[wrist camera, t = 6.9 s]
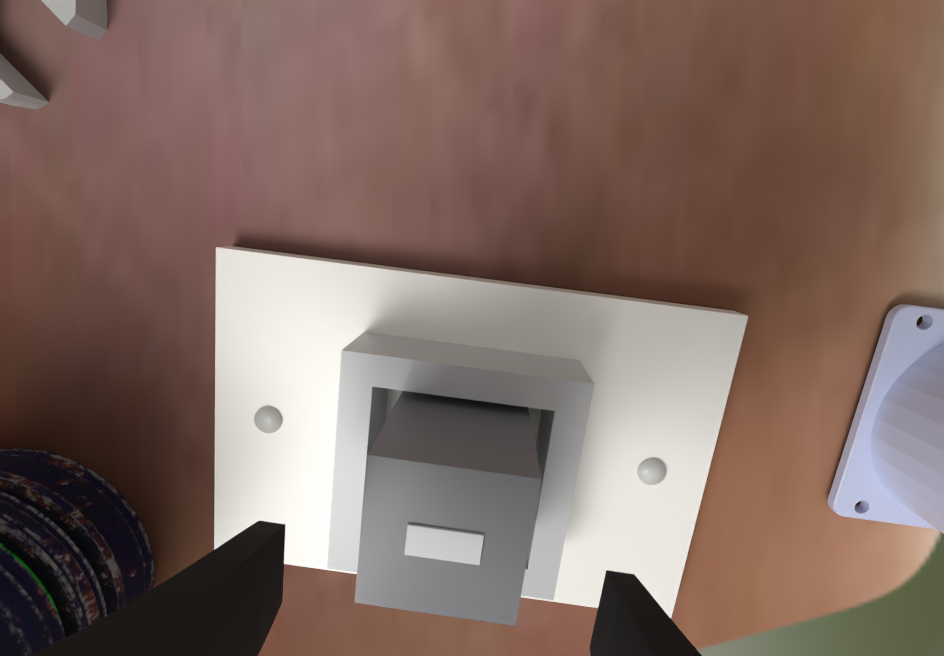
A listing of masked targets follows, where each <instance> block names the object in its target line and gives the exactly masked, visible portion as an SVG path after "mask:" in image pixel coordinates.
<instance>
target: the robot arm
mask: <svg viewBox="0 0 944 656" xmlns="http://www.w3.org/2000/svg"><path fill="white" fill-rule="evenodd" d="M921 316H922V317H923V318H922V322H921V324H920V325H919V326H917V325H916V324H917V320H918V318H919V317H921ZM859 501H861V503H860V504H859V505H858V506H857V507H855V505H856V503H858V502H859ZM828 505H829V507H830V508H831V509H832V510H833V511H834V512H836V513H837V514H838V515H840V516H843V517H851V518H858V519H865V520H873V521H880V522H887V523H895V524H902V525H910V526H917V527H924V528H932V529H938V530H939V531H941V532H942V533H944V309H940V308H932V307H924V306H916V305H909V304H900V305H897V306H895V307H893V308H892V309H891V310H890V311H889V313H888V314H887V316H886V319H885V322H884V325H883V329H882V332H881V335H880V338H879V341H878V344H877V347H876V350H875V353H874V357H873V360H872V363H871V366H870V369H869V372H868V375H867V378H866V382H865V385H864V388H863V391H862V394H861V397H860V400H859V403H858V407H857V410H856V413H855V416H854V419H853V422H852V425H851V428H850V431H849V435H848V438H847V441H846V444H845V447H844V450H843V453H842V456H841V460H840V463H839V466H838V469H837V472H836V475H835V478H834V481H833V485H832V488H831V491H830V494H829V497H828ZM285 525H286V524H279V523H272V522H265V521H258V522H256V523H254V524H253V525H251V526H249V527H248V528H246V529H245V530H243V531H242V532H240V533H239V534H237V535H236V536H234V537H233V538H231V539H230V540H228V541H227V542H225V543H224V544H222V545H221V546H219V547H218V548H216V549H215V550H213V551H212V552H210V553H209V554H207V555H206V556H204V557H203V558H201V559H199V560H198V561H196V562H195V563H193V564H192V565H190V566H189V567H187V568H186V569H184V570H182V571H181V572H179V573H178V574H176V575H175V576H173V577H172V578H170V579H168V580H167V581H165V582H163V583H162V584H160V585H158V586H157V587H155V588H153V589H152V590H150V591H148V592H146V593H145V594H143V595H141V596H140V597H138V598H136V599H135V600H133V601H131V602H130V603H128V604H126V605H125V606H123V607H121V608H120V609H118V610H116V611H114V612H113V613H111V614H109V615H107V616H105V617H104V618H102V619H100V620H98V621H96V622H94V623H93V624H91V625H89V626H87V627H85V628H83V629H81V630H79V631H77V632H75V633H73V634H71V635H69V636H67V637H66V638H64V639H62V640H60V641H58V642H56V643H54V644H52V645H50V646H48V647H46V648H44V649H42V650H40V651H38V652H35V653H33V654H31V655H29V656H257V655H258V654H259V652H260V650H261V648H262V646H263V644H264V642H265V639H266V637H267V635H268V633H269V631H270V629H271V626H272V624H273V622H274V619H275V617H276V615H277V613H278V610H279V608H280V606H281V603H282V595H283V572H284V548H285ZM590 653H591V656H702V655H701V654H700V653H699V652H698V651H697V650H696V648H695V647H694V646H693V645H692V644H691V643H690V641H689V640H688V639H687V638H686V637H685V635H684V634H683V633H682V632H681V631H680V630H679V628H678V627H677V626H676V625H675V623H674V622H673V621H672V620H671V619H670V617H669V616H668V615H667V614H666V613H665V611H664V610H663V609H662V608H661V606H660V605H659V604H658V603H657V601H656V600H655V599H654V598H653V597H652V595H651V594H650V593H649V592H648V590H647V589H646V588H645V587H644V585H643V584H642V583H641V582H640V581H639V579H638V578H637V577H636V576H635V575H634V574H629V573H622V572H615V571H608V570H606V574H605V579H604V583H603V588H602V592H601V597H600V602H599V606H598V611H597V616H596V620H595V625H594V630H593V634H592V639H591V644H590Z"/></svg>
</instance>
